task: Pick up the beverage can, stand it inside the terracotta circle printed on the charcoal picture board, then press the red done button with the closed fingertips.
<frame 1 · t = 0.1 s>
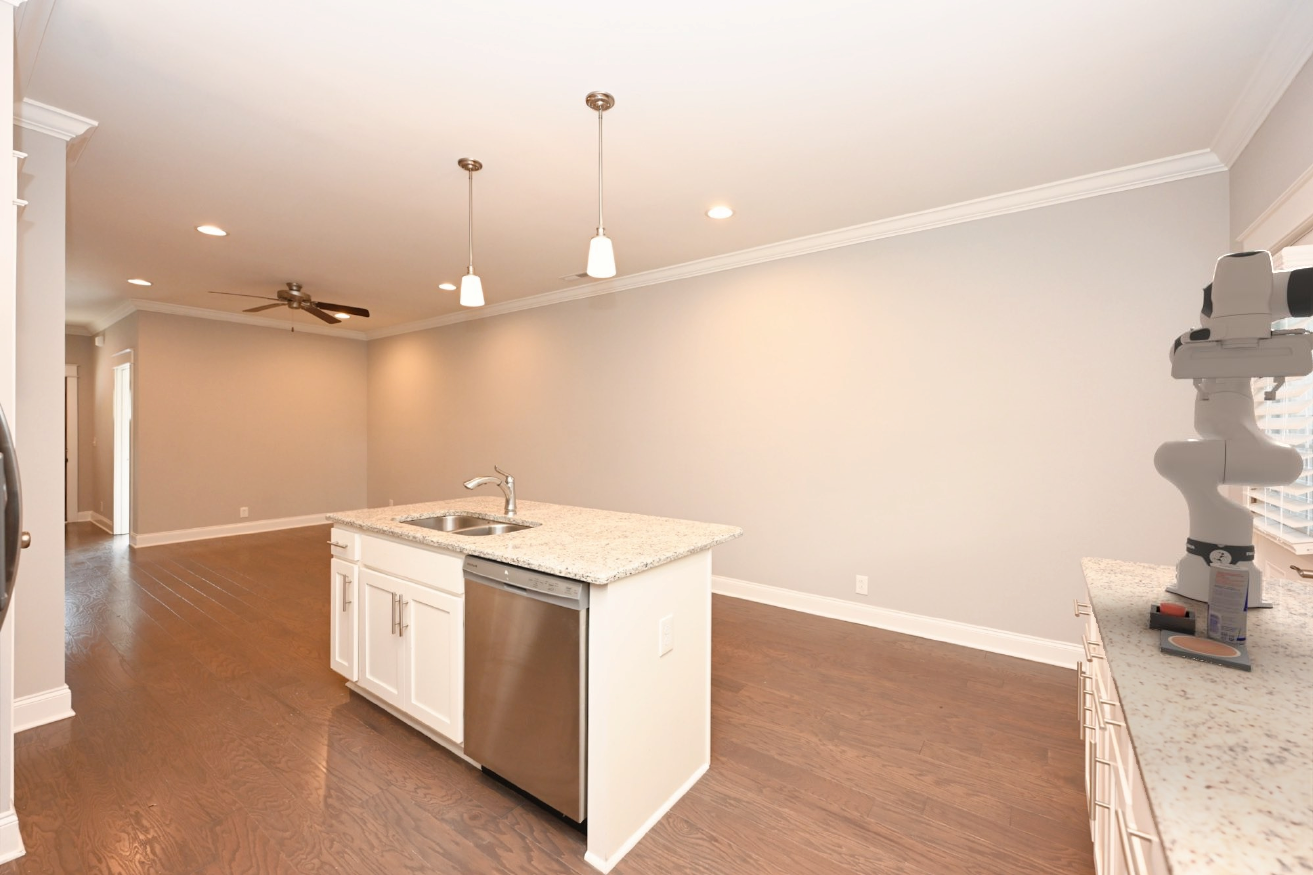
hand: (1235, 400, 117), 48 cm above the countertop, tool pointing down, fingers open, 8 cm apart
beverage can: (1225, 641, 115), on the countertop
picture board: (1202, 651, 110), on the countertop
button housing: (1171, 628, 122), on the countertop
done button: (1172, 611, 121), point 4 cm above the countertop, slide at 0.0 cm
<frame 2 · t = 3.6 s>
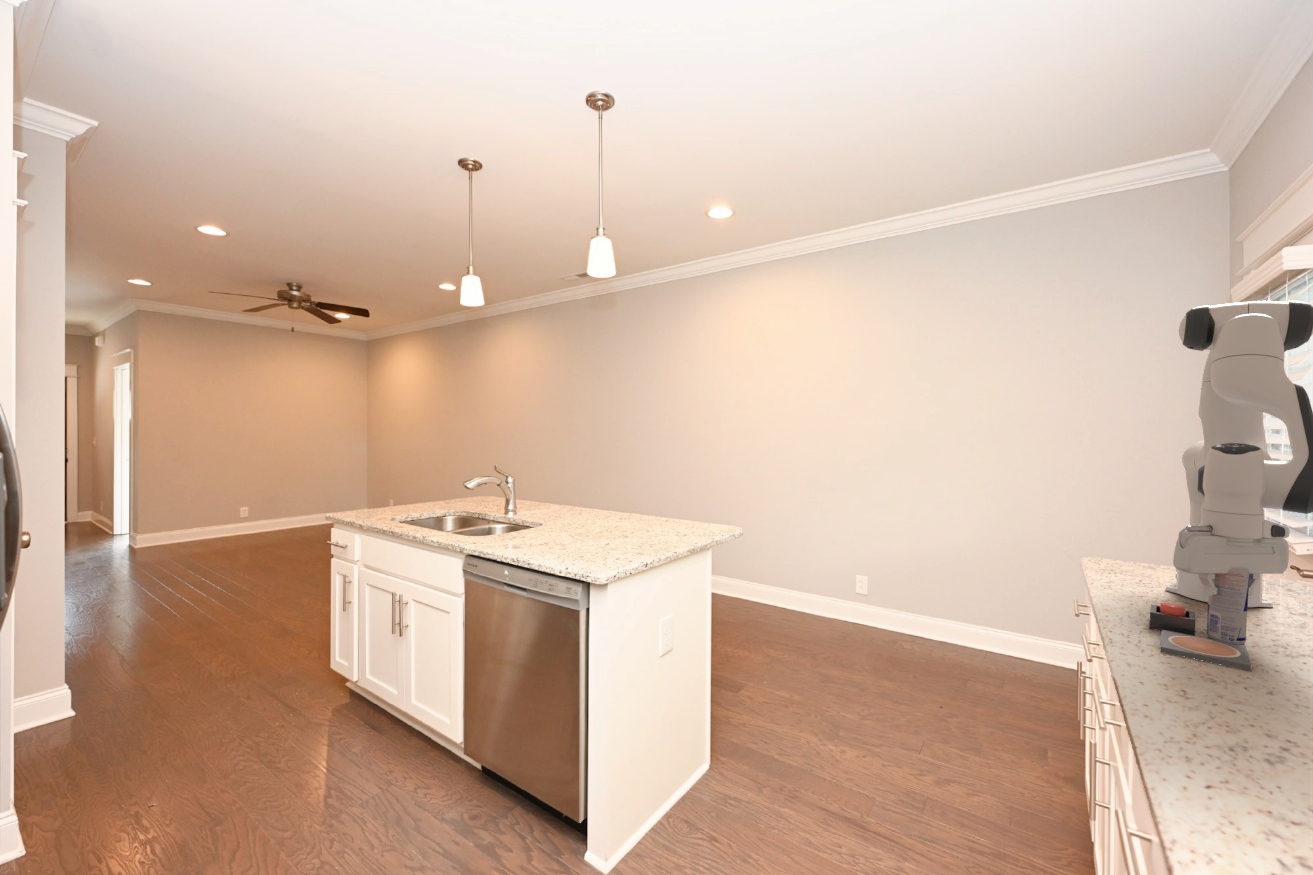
hand: (1227, 594, 115), 9 cm above the countertop, tool pointing down, fingers closed on beverage can, 5 cm apart
beverage can: (1225, 641, 115), on the countertop, touching gripper
everything else where it was.
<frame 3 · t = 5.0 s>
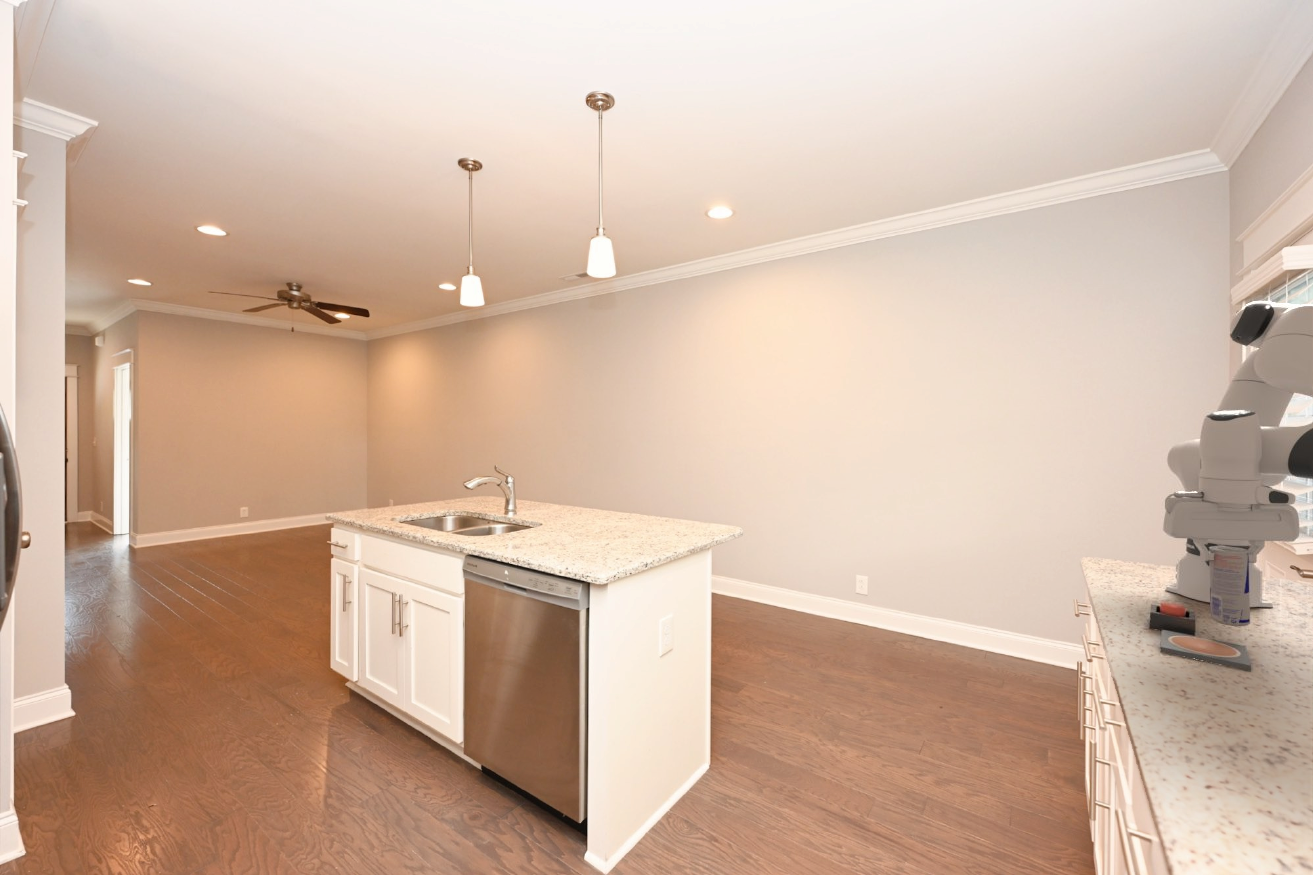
hand: (1227, 561, 115), 16 cm above the countertop, tool pointing down, fingers closed on beverage can, 5 cm apart
beverage can: (1230, 623, 116), point 3 cm above the countertop, touching gripper
everything else where it was.
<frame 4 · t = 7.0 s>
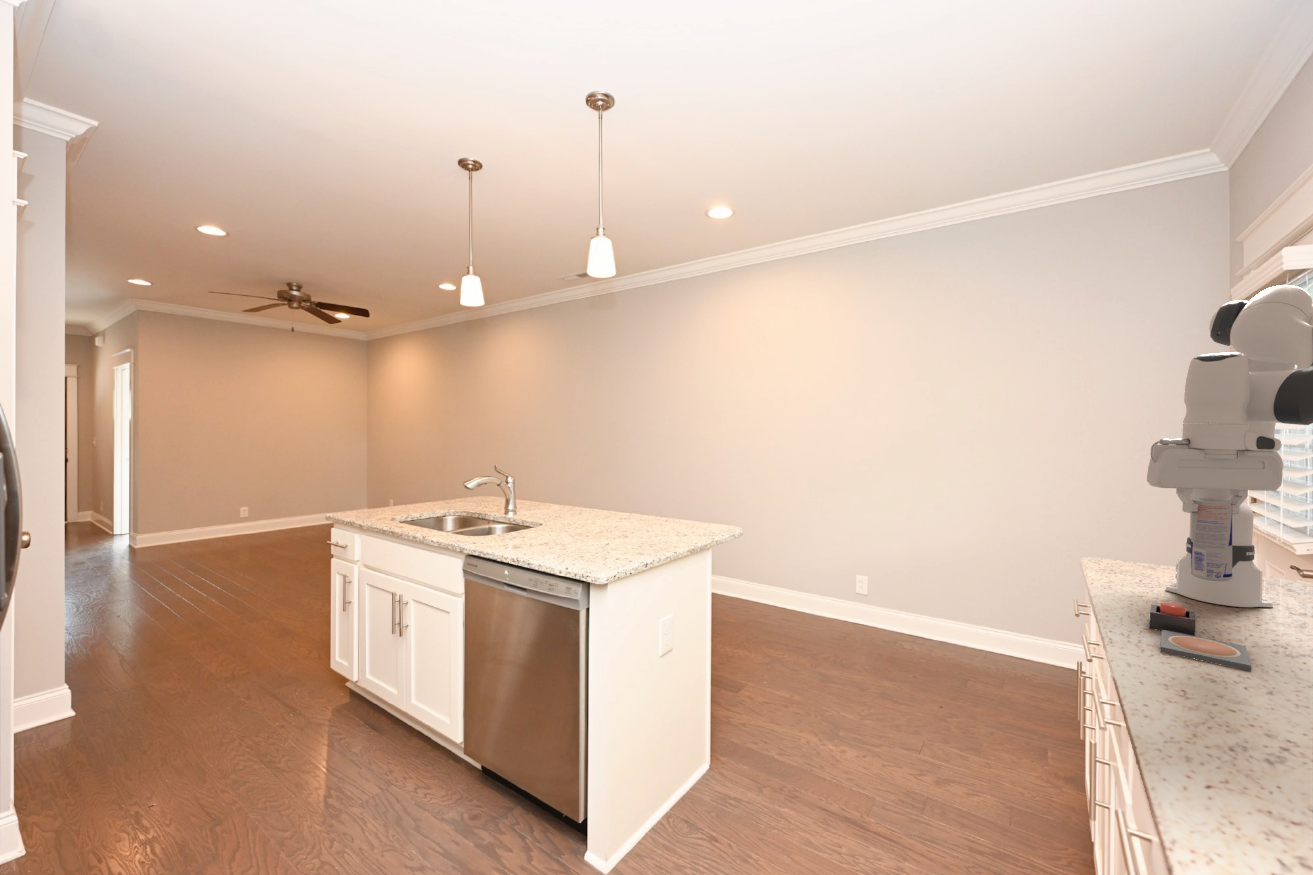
hand: (1210, 513, 109), 26 cm above the countertop, tool pointing down, fingers closed on beverage can, 5 cm apart
beverage can: (1211, 579, 109), point 14 cm above the countertop, touching gripper
everything else where it was.
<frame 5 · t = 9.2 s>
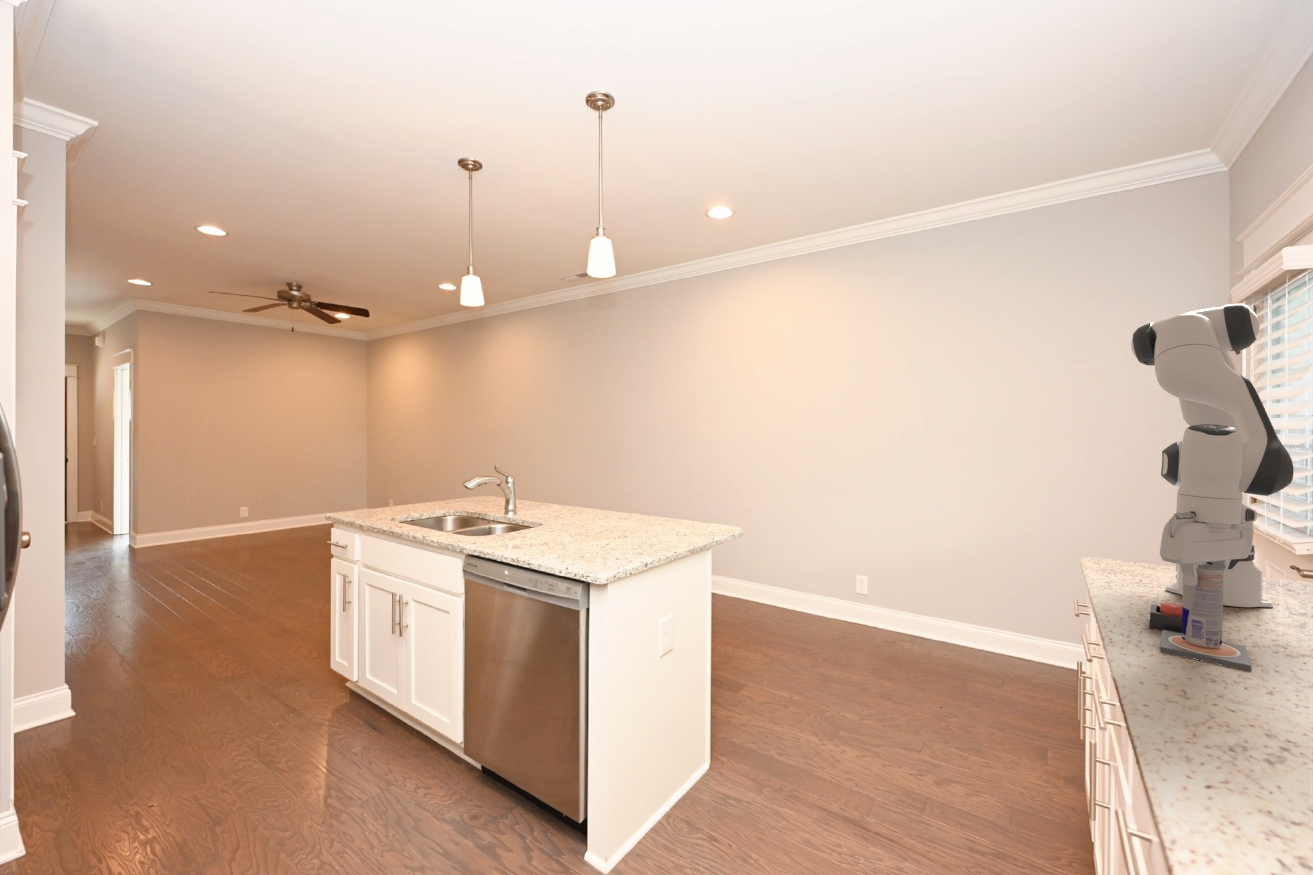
hand: (1203, 583, 109), 13 cm above the countertop, tool pointing down, fingers closed on beverage can, 5 cm apart
beverage can: (1201, 644, 110), point 1 cm above the countertop, touching gripper, picture board
everything else where it was.
when the fingers open (12 cm above the countertop, at t = 10.5 s): beverage can stays where it is, resting on picture board.
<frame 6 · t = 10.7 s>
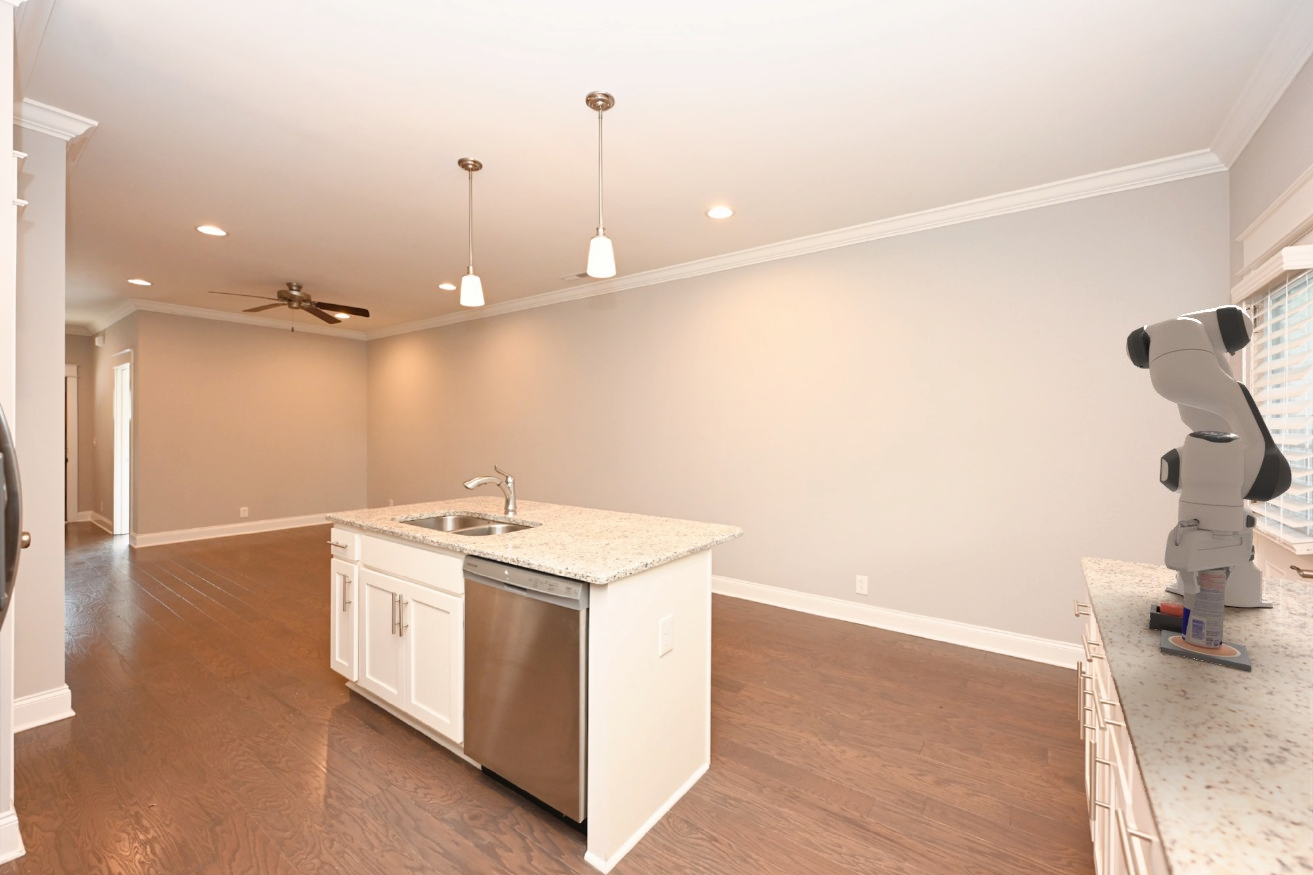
hand: (1206, 590, 109), 12 cm above the countertop, tool pointing down, fingers open, 8 cm apart
beverage can: (1201, 645, 110), point 1 cm above the countertop, touching picture board
everything else where it was.
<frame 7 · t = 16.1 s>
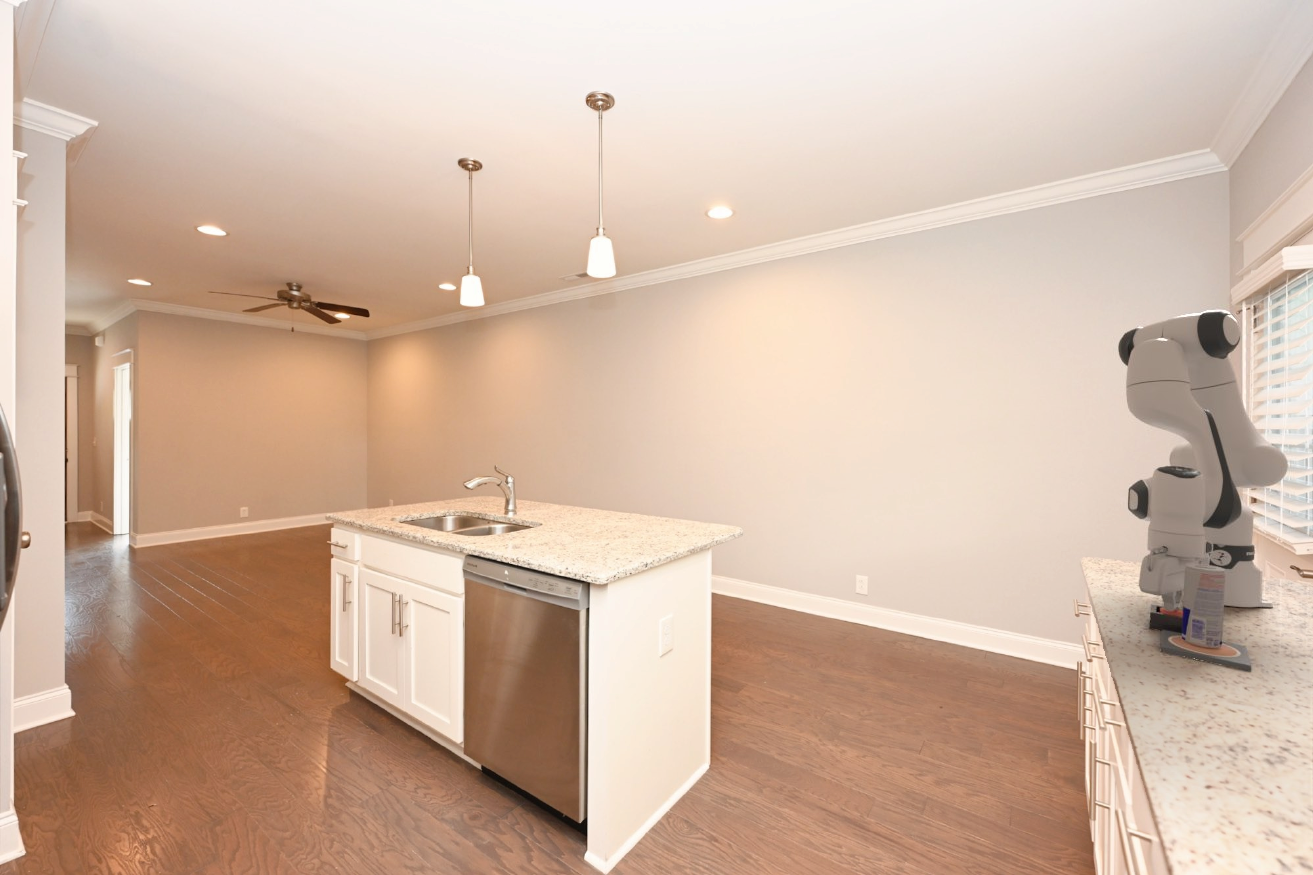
hand: (1171, 610, 122), 4 cm above the countertop, tool pointing down, fingers closed, pressing on done button
done button: (1172, 616, 121), point 3 cm above the countertop, slide at 1.0 cm, touching gripper
everything else where it was.
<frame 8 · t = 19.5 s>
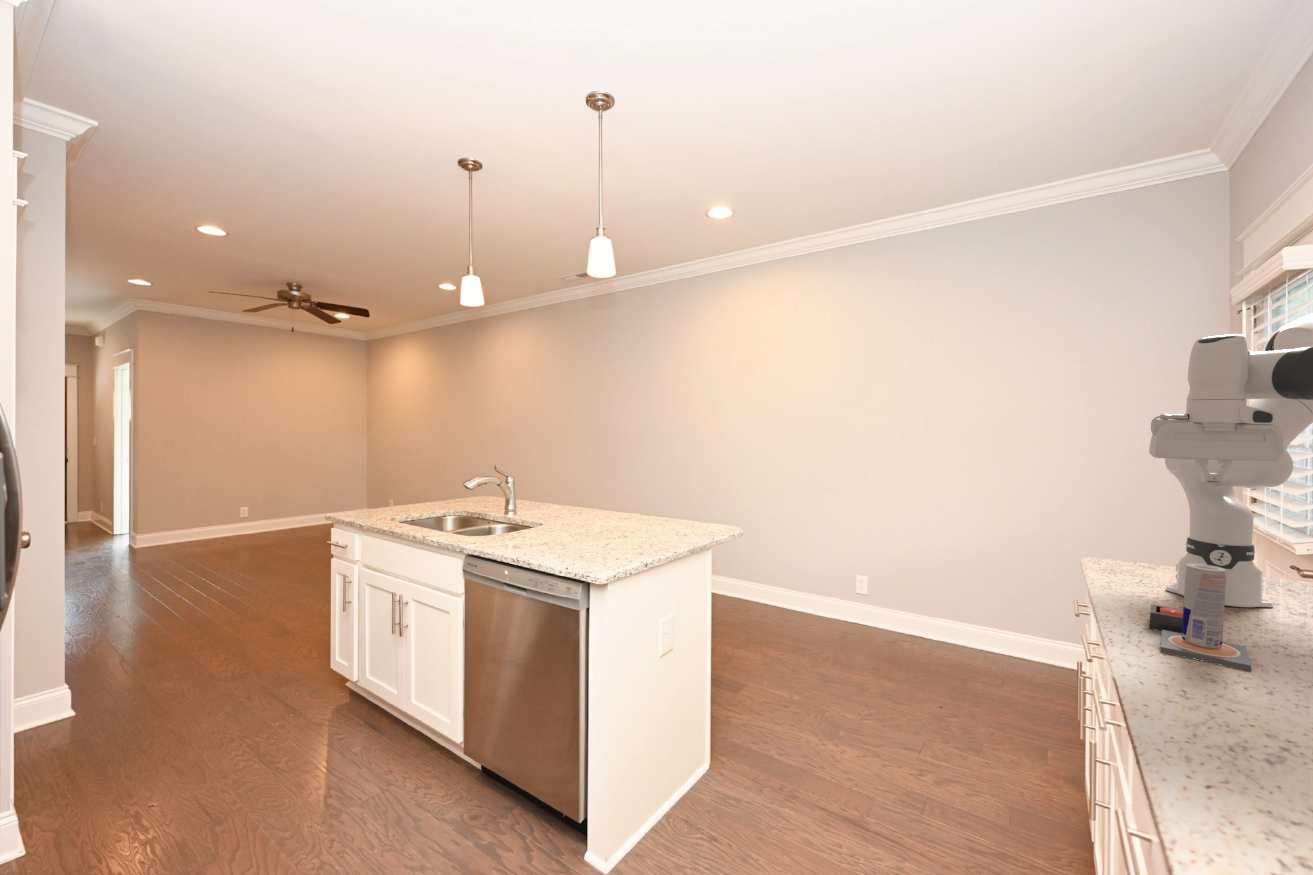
hand: (1211, 482, 118), 31 cm above the countertop, tool pointing down, fingers closed
done button: (1172, 616, 121), point 3 cm above the countertop, slide at 1.0 cm
everything else where it was.
at the end: beverage can 0.8 cm off-centre on the picture board, point 0.9 cm above the picture board's base; beverage can tilted 0°; done button slide at 1.0 cm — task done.
